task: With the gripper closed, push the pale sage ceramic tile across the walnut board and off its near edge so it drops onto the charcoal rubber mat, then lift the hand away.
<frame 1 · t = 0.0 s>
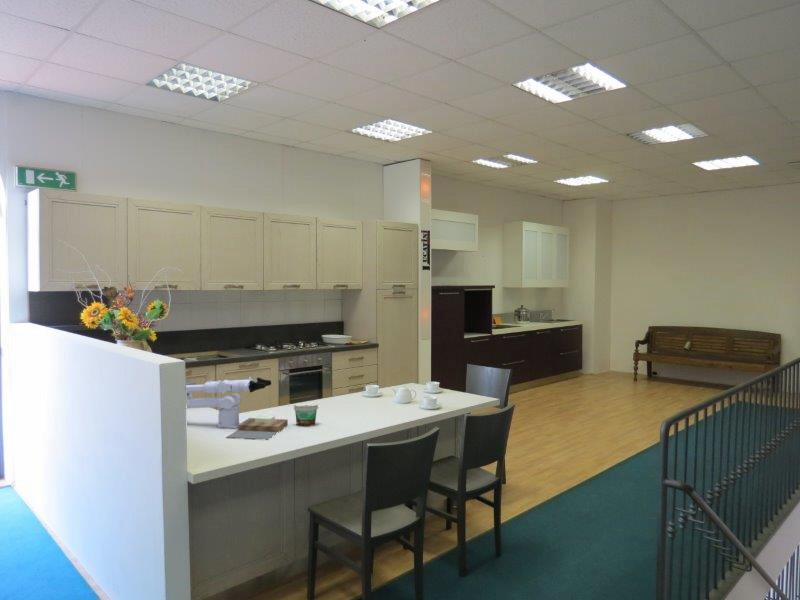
hand: (268, 384, 275), 22 cm above the table, tool horizontal, fingers open, 7 cm apart
food container: (306, 425, 281), on the table
tile: (264, 421, 277), point 3 cm above the table, touching board
mat: (252, 435, 262), on the table
board: (263, 428, 275), on the table
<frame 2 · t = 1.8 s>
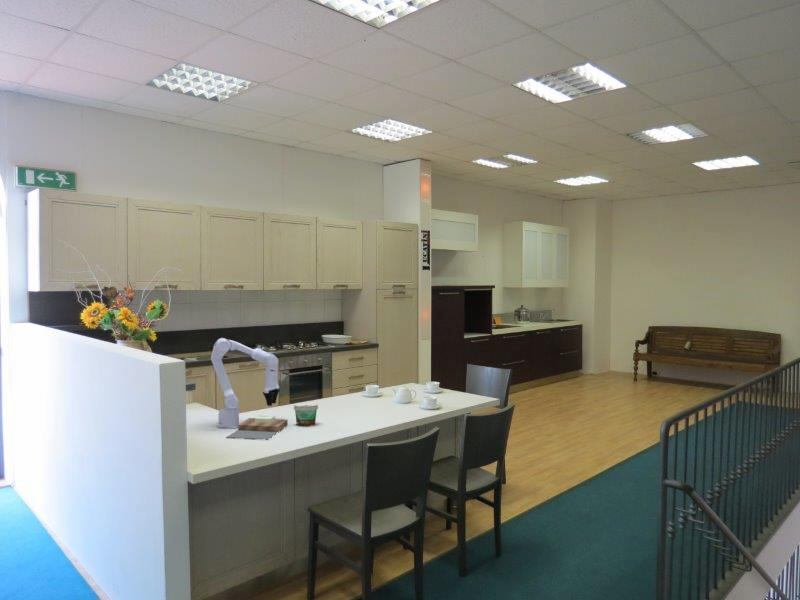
hand: (271, 404, 286), 9 cm above the table, tool pointing down, fingers open, 5 cm apart
nothing on the table moved.
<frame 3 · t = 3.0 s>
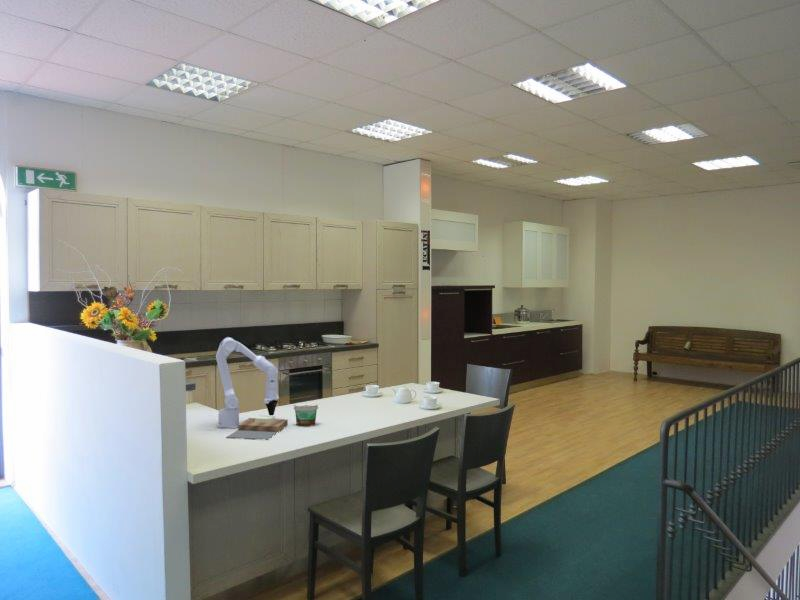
hand: (271, 415, 286), 4 cm above the table, tool pointing down, fingers closed
nothing on the table moved.
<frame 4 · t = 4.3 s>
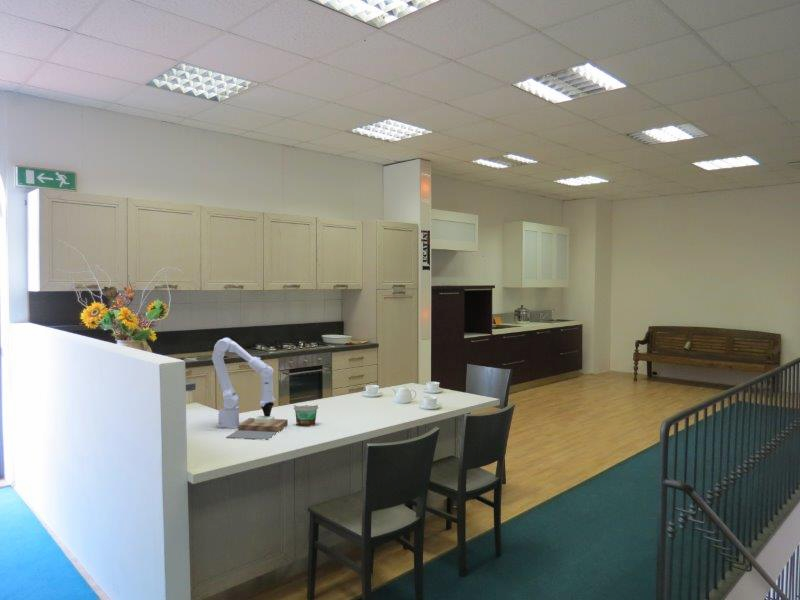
hand: (267, 417, 280), 4 cm above the table, tool pointing down, fingers closed
nothing on the table moved.
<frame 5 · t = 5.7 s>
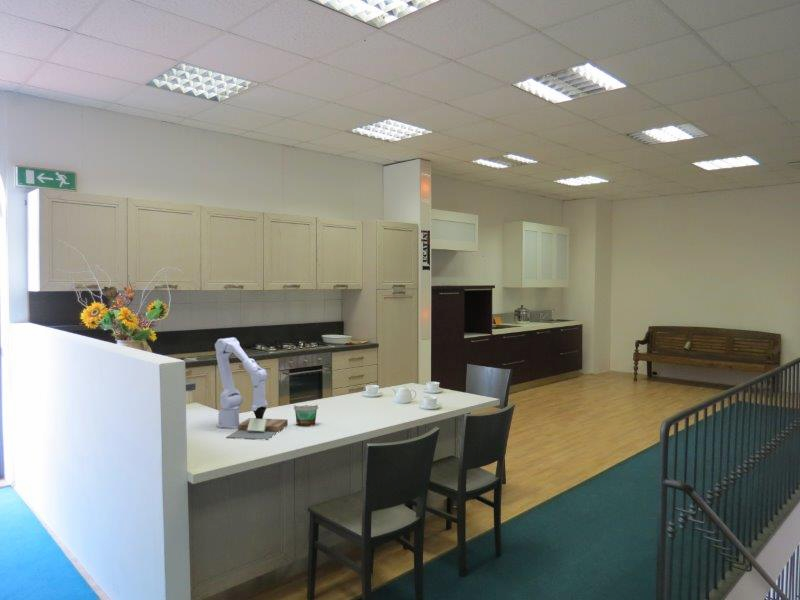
hand: (259, 422, 270), 4 cm above the table, tool pointing down, fingers closed, pressing on tile
tile: (258, 426, 268), point 3 cm above the table, tilted 53°, touching gripper, mat
everything else where it was.
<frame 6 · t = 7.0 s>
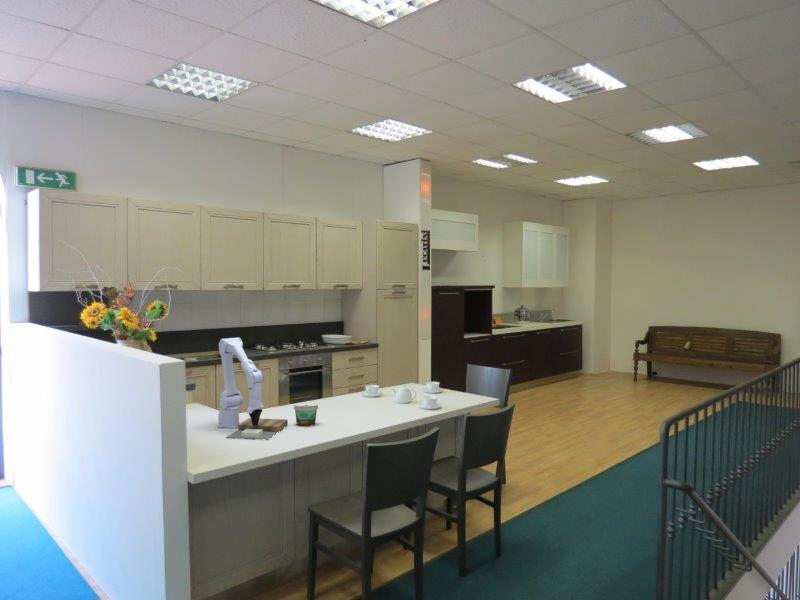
hand: (255, 425, 265), 4 cm above the table, tool pointing down, fingers closed
tile: (252, 430, 261), point 2 cm above the table, tilted 180°, touching mat
everything else where it was.
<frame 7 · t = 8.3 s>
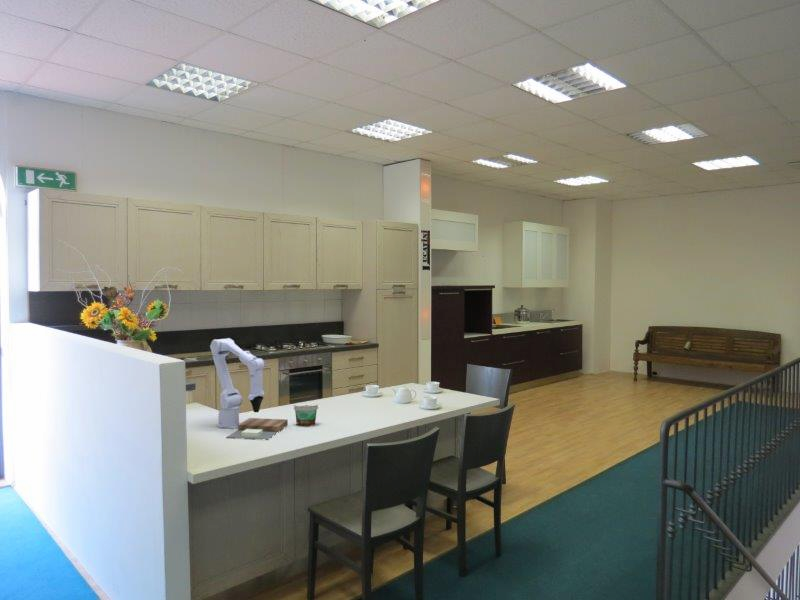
hand: (256, 411, 270), 9 cm above the table, tool pointing down, fingers closed
nothing on the table moved.
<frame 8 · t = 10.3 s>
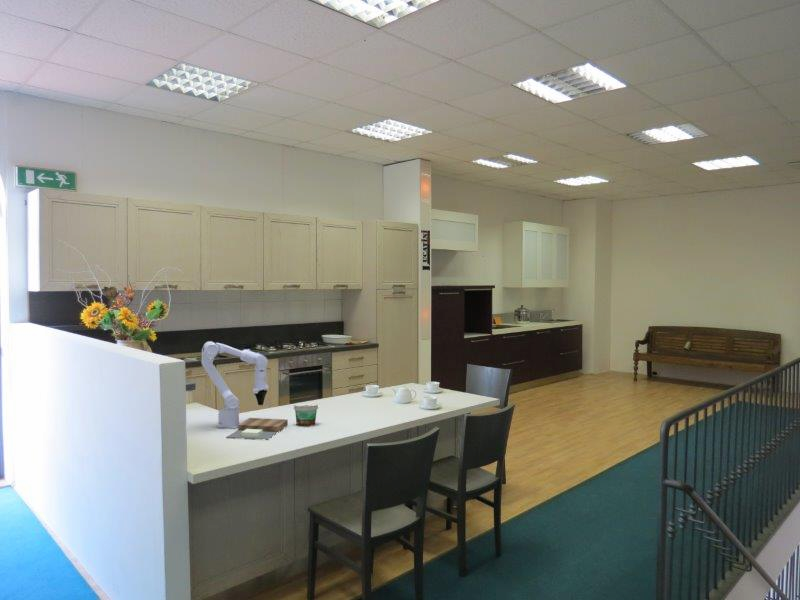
hand: (260, 404, 285), 9 cm above the table, tool pointing down, fingers closed
nothing on the table moved.
at the end: tile inside the target area (0.6 cm from its centre), point 2.5 cm above the table; tile touching mat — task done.
